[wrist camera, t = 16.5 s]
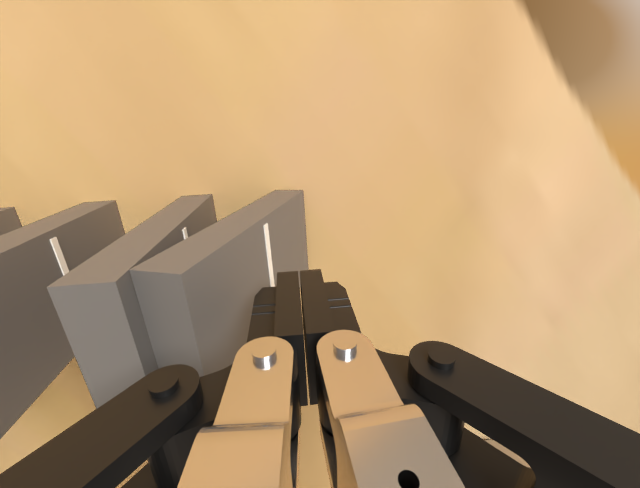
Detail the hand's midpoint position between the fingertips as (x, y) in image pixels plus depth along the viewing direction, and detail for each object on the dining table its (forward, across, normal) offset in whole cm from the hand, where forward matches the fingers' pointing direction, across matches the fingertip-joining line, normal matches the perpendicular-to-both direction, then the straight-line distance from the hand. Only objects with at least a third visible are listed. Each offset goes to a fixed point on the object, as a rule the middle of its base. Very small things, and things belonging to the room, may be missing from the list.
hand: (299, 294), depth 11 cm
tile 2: (+8, +5, 0) cm, 9 cm away
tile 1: (+7, 0, 0) cm, 7 cm away
